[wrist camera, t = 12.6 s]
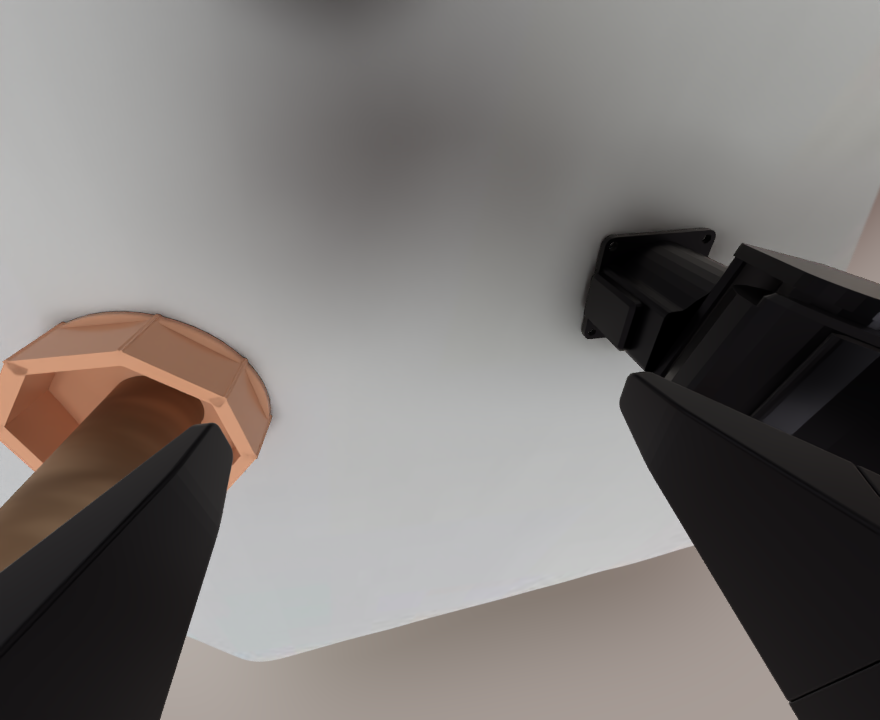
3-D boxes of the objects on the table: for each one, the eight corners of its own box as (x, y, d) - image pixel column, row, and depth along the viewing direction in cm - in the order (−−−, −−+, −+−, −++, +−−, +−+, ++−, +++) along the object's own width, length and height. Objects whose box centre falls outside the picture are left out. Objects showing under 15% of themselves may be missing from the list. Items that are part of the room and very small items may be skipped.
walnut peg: (201, 382, 21) (24, 653, 11) (206, 437, 24) (66, 700, 13) (105, 369, 20) (-205, 663, 9) (121, 429, 22) (-110, 713, 12)
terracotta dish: (229, 301, 19) (202, 335, 16) (292, 452, 26) (282, 494, 24) (-24, 323, 18) (-99, 363, 15) (115, 474, 25) (81, 520, 23)
